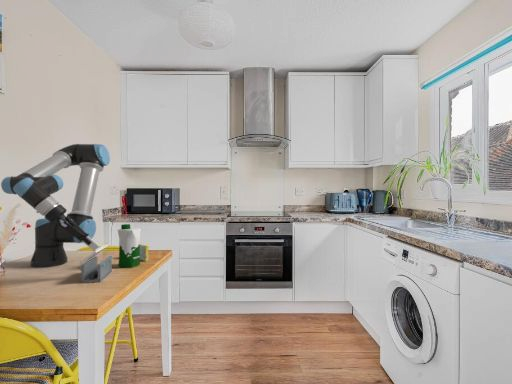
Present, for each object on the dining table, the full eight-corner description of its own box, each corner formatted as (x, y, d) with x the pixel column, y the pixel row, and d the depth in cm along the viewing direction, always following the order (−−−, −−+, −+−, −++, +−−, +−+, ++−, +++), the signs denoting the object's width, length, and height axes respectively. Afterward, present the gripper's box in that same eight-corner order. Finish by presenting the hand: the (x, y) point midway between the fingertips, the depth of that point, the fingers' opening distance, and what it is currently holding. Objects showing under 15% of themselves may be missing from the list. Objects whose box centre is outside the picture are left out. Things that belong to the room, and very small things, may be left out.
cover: (95, 255, 135) (92, 253, 135) (108, 245, 136) (106, 243, 136) (81, 264, 119) (79, 261, 119) (96, 252, 120) (94, 250, 120)
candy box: (148, 261, 158) (149, 245, 158) (145, 261, 156) (145, 245, 156) (129, 257, 167) (129, 242, 167) (126, 258, 165) (126, 242, 165)
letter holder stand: (94, 272, 135) (95, 256, 135) (112, 271, 137) (112, 256, 137) (81, 282, 119) (81, 265, 119) (101, 281, 121) (101, 264, 121)
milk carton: (126, 263, 153) (127, 223, 153) (143, 264, 151) (143, 224, 151) (115, 267, 144) (115, 225, 144) (132, 268, 142) (132, 226, 142)
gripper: (48, 215, 128) (92, 252, 134) (38, 217, 116) (87, 258, 122) (63, 203, 130) (105, 240, 136) (55, 204, 118) (101, 244, 124)
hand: (96, 248), depth 129 cm, fingers closed
